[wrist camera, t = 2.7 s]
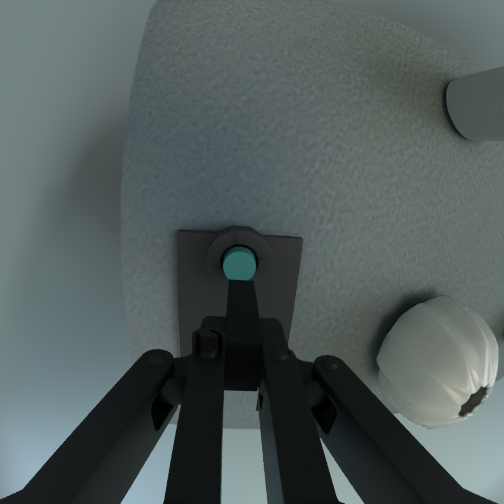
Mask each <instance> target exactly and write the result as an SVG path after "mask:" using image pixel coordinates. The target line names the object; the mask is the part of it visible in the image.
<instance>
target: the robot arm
mask: <svg viewBox="0 0 504 504" xmlns="http://www.w3.org/2000/svg"><path fill="white" fill-rule="evenodd" d="M257 389H259V393H258V400H257V407H256V411H259V420H260V430H261V440H262V451H263V462H264V472H265V482H266V491H267V502H268V504H345V503H341V502H339V501H338V499H337V496H336V493H335V490H334V486H333V483H332V479H331V475H330V472H329V468H328V465H327V462H326V458H325V455H324V451H323V447H322V444H321V441H320V438H321V439H322V441H323V443H324V444H325V446H326V447H327V449H328V450H329V452H330V453H331V455H332V456H333V458H334V459H335V461H336V462H337V464H338V465H339V467H340V468H341V470H342V472H343V473H344V475H345V476H346V477H347V479H348V480H349V482H350V483H351V485H352V486H353V488H354V489H355V490H356V492H357V494H358V495H359V496H360V498H361V499H362V501H363V502H364V504H498V503H495V502H493V501H491V500H488V499H486V498H483V497H481V496H479V495H476V494H474V493H472V492H470V491H468V490H465V489H464V488H462V487H461V486H460V485H459V484H458V483H457V481H455V480H454V478H453V477H452V476H451V475H450V474H449V473H448V472H447V471H446V470H445V469H444V468H443V467H442V466H441V465H440V464H439V463H438V462H437V461H436V460H435V458H434V457H433V456H432V455H431V454H430V453H429V452H428V451H427V450H426V449H425V448H424V447H423V446H422V445H421V444H420V443H419V442H418V441H417V439H416V438H415V437H414V436H413V435H412V434H411V433H410V432H409V431H408V430H407V429H406V428H405V427H404V426H403V425H402V424H401V423H400V421H399V420H398V419H397V418H396V417H395V416H394V415H393V414H392V413H391V412H390V411H389V410H388V409H387V408H386V407H385V405H384V404H383V403H382V402H381V401H380V400H379V399H378V398H377V397H376V396H375V395H374V394H373V393H372V392H371V391H370V389H369V388H368V387H367V386H366V385H365V384H364V383H363V382H362V381H361V380H360V379H359V378H358V377H357V376H356V374H355V373H354V372H353V371H352V370H351V369H350V368H349V367H348V366H347V365H346V364H345V363H344V362H343V361H342V360H341V359H340V358H338V357H335V356H331V355H322V356H319V357H317V358H316V359H315V361H314V363H311V362H306V361H302V360H299V359H297V358H296V356H295V354H294V353H293V351H291V350H290V349H289V348H288V345H287V341H286V338H285V335H284V331H283V327H282V324H281V322H280V321H278V320H277V319H276V318H260V317H259V310H258V304H257V297H256V291H255V284H254V281H251V280H233V279H229V284H228V298H227V312H226V317H223V316H206V317H205V318H204V319H203V320H202V322H201V327H200V329H197V330H195V331H194V332H193V334H192V353H191V354H190V355H188V356H185V357H179V358H173V355H172V354H171V353H170V352H168V351H165V350H161V349H154V350H150V351H147V352H145V353H144V354H143V355H142V356H141V357H140V358H139V359H138V360H137V361H136V362H135V363H134V365H133V366H132V367H131V368H130V369H129V370H128V371H127V372H126V373H125V374H124V376H123V377H122V378H121V379H120V380H119V381H118V382H117V383H116V384H115V386H114V387H113V388H112V389H111V390H110V391H109V392H108V393H107V394H106V395H105V397H104V398H103V399H102V400H101V401H100V402H99V403H98V404H97V405H96V407H95V408H94V409H93V410H92V411H91V412H90V413H89V414H88V416H87V417H86V418H85V419H84V420H83V421H82V422H81V423H80V425H79V426H78V427H77V428H76V429H75V430H74V431H73V432H72V433H71V435H70V436H69V437H68V438H67V439H66V440H65V441H64V442H63V444H62V445H61V446H60V447H59V448H58V449H57V450H56V452H55V453H54V454H53V455H52V456H51V457H50V458H49V460H48V461H47V462H46V463H45V464H44V465H43V466H42V468H41V469H40V470H39V471H38V472H37V473H36V474H35V476H34V477H33V478H32V479H31V480H30V481H29V483H28V484H27V485H26V486H25V487H24V488H23V489H22V490H20V491H18V492H16V493H14V494H12V495H10V496H7V497H5V498H3V499H0V504H120V503H121V502H122V500H123V499H124V497H125V495H126V494H127V492H128V490H129V488H130V487H131V485H132V484H133V482H134V480H135V479H136V477H137V475H138V474H139V472H140V470H141V469H142V467H143V465H144V464H145V462H146V460H147V459H148V457H149V455H150V453H151V452H152V450H153V449H154V447H155V445H156V444H157V442H158V440H159V439H160V437H161V435H162V434H163V432H164V430H165V428H166V427H167V425H168V423H169V422H170V420H171V418H172V417H173V415H174V413H175V411H176V410H177V408H178V404H181V408H180V413H179V418H178V423H177V429H176V434H175V440H174V446H173V451H172V457H171V462H170V468H169V474H168V480H167V486H166V492H165V499H164V503H163V504H221V481H222V479H221V478H222V477H221V476H222V434H223V404H224V390H232V391H257ZM319 436H320V437H319Z"/></svg>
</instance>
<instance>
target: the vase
mask: <svg viewBox="0 0 504 504" xmlns="http://www.w3.org/2000/svg"><path fill="white" fill-rule="evenodd" d="M498 351H499V346H498V344H497V341H496V338H495V335H494V334H493V332H492V331H491V329H490V328H489V326H488V325H487V324H486V323H485V321H484V320H483V319H482V318H481V317H480V316H479V315H478V314H477V313H476V312H475V311H474V310H472V309H471V308H469V307H468V306H466V305H464V304H461V303H457V302H456V301H455V300H453V299H452V298H450V297H448V296H445V295H442V296H439V297H436V298H433V299H430V300H428V301H425V302H423V303H419V304H417V305H415V306H414V307H412V308H411V309H409V310H408V311H406V312H405V313H403V314H402V315H401V316H400V317H399V318H398V320H397V321H396V323H395V324H394V326H393V327H392V329H391V330H390V331H389V332H388V333H387V335H386V337H385V339H384V341H383V343H382V346H381V348H380V351H379V353H378V356H377V358H376V361H377V363H378V366H379V368H380V369H379V378H378V382H379V385H380V389H381V390H382V392H383V394H384V396H385V397H386V398H387V400H388V401H389V402H390V403H391V404H392V405H393V406H394V407H395V408H396V409H397V410H398V411H399V412H400V413H401V414H402V415H403V416H404V417H406V418H407V419H408V420H410V421H412V422H414V423H416V424H419V425H422V426H423V427H425V428H427V429H433V428H440V427H446V426H450V425H454V424H457V423H459V422H461V421H463V420H464V419H465V418H467V417H469V416H471V415H472V414H473V413H474V412H475V411H476V409H478V408H479V407H480V406H481V405H482V404H483V403H484V401H485V399H486V398H487V397H488V396H489V394H490V393H491V391H492V388H493V385H494V382H495V379H496V376H497V371H498Z"/></svg>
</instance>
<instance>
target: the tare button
mask: <svg viewBox="0 0 504 504" xmlns="http://www.w3.org/2000/svg"><path fill="white" fill-rule="evenodd" d="M255 270H256V263H255V258H254V255H253V253H252V252H251V251H250V250H249V249H247V248H245V247H234V248H232V249H230V250H229V251H228V252H227V253H226V255H225V257H224V262H223V271H224V273H225V275H226V276H227V278H228V279H233V280H249V279H250V278H251V277H252V276H253V275H254V273H255Z"/></svg>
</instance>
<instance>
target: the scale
mask: <svg viewBox="0 0 504 504" xmlns="http://www.w3.org/2000/svg"><path fill="white" fill-rule="evenodd" d="M302 242H303V239H302V238H301V237H287V236H272V235H261V234H260V233H258V232H257V231H255V230H254V229H252V228H251V227H243V226H231V227H229V228H227V229H225V230H223V231H221V232H208V231H190V230H179V231H178V303H179V328H180V346H181V357H185V356H188V355H190V354H191V353H192V334H193V332H194V331H195V330H197V329H200V327H201V322H202V320H203V319H204V318H205V317H206V316H223V317H226V312H227V298H228V284H229V279H228V278H227V276H226V275H225V273H224V271H223V262H224V257H225V255H226V253H227V252H228V251H229V250H230V249H232V248H234V247H245V248H247V249H249V250H250V251H251V252H252V253H253V255H254V258H255V263H256V270H255V273H254V275H253V276H252V277H251V278H250V279H249V280H251V281H254V284H255V291H256V297H257V304H258V310H259V317H260V318H276V319H277V320H278V321H280V322H281V324H282V327H283V331H284V335H285V338H286V341H287V345H288V339H289V333H290V327H291V320H292V314H293V308H294V301H295V294H296V287H297V280H298V273H299V266H300V258H301V250H302Z"/></svg>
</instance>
